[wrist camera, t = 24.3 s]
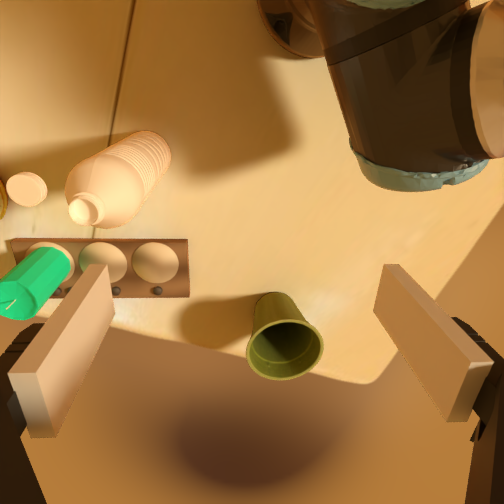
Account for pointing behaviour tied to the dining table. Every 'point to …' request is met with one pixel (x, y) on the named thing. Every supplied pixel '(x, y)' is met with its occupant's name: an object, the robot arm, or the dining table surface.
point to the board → (121, 264)
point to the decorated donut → (3, 200)
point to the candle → (32, 282)
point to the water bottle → (104, 181)
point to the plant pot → (282, 339)
